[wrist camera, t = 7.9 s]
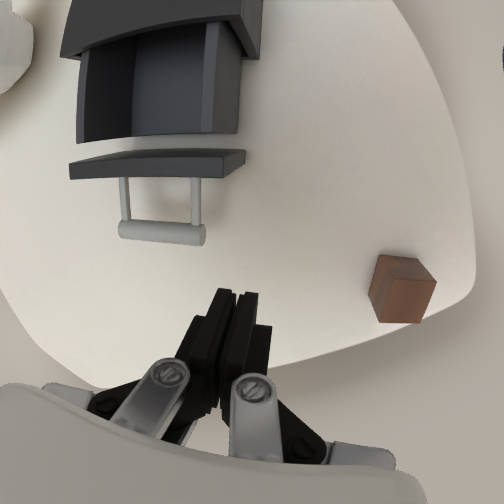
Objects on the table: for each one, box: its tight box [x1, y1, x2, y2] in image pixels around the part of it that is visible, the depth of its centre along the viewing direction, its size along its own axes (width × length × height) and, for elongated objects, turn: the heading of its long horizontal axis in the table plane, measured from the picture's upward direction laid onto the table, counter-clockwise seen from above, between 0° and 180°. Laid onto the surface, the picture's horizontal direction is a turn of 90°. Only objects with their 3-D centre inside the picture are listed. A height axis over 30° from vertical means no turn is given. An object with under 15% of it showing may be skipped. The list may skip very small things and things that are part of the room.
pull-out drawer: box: [69, 20, 246, 246], centre depth 17 cm, size 19×11×8 cm, turn 177°
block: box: [368, 255, 437, 323], centre depth 23 cm, size 5×5×5 cm
